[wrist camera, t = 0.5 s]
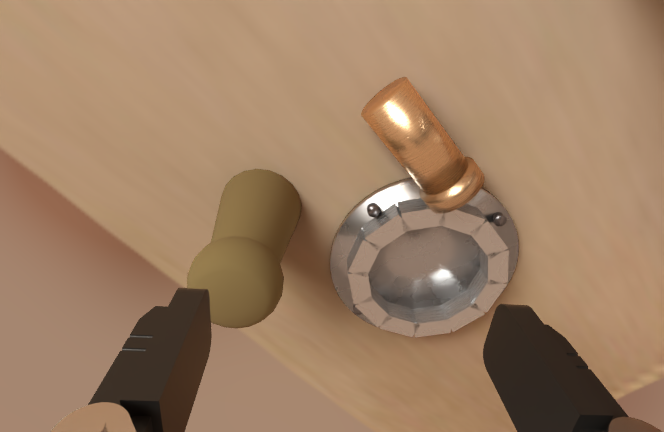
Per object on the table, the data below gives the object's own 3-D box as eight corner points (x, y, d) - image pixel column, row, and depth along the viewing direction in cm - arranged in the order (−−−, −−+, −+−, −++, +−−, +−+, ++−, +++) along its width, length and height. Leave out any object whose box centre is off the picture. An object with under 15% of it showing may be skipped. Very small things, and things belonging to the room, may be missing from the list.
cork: (303, 239, 32) (292, 344, 22) (227, 241, 32) (183, 346, 22) (298, 167, 29) (283, 253, 19) (214, 170, 29) (157, 256, 19)
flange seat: (451, 134, 28) (461, 145, 26) (548, 268, 33) (562, 287, 31) (292, 251, 32) (289, 269, 30) (400, 352, 38) (404, 373, 36)
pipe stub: (355, 111, 27) (359, 129, 23) (406, 69, 26) (419, 81, 22) (423, 195, 30) (437, 223, 26) (472, 161, 29) (493, 185, 25)
